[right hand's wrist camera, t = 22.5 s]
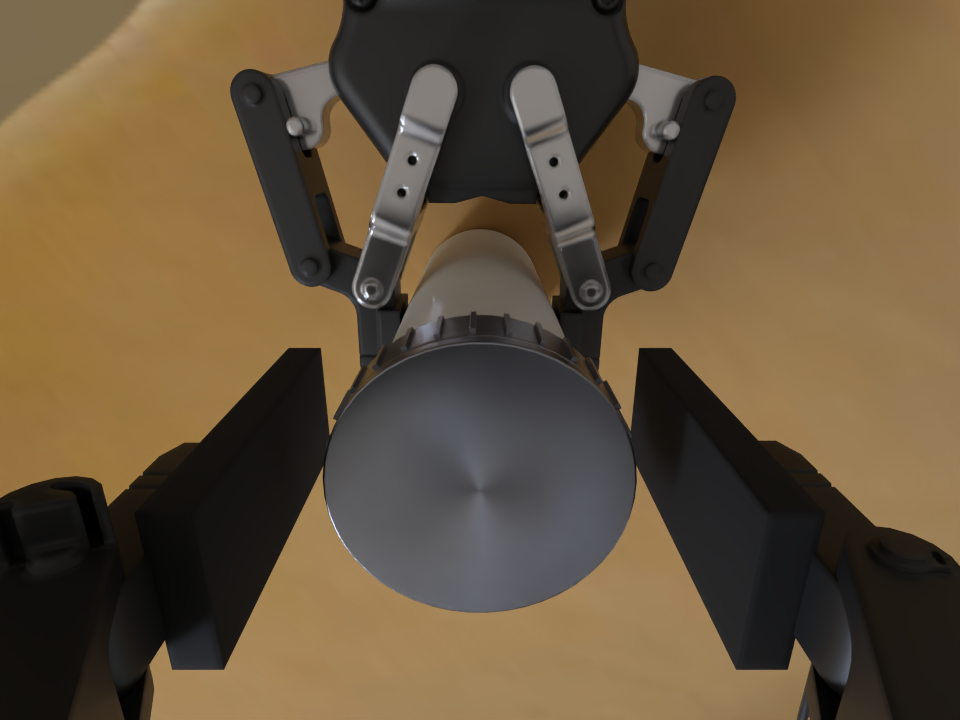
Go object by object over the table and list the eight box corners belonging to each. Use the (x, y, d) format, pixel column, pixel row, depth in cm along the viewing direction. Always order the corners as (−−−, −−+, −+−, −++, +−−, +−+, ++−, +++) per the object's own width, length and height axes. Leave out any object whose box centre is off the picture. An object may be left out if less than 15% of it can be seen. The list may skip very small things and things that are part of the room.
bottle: (530, 221, 24) (599, 325, 10) (542, 333, 26) (614, 553, 12) (413, 237, 25) (326, 360, 11) (433, 347, 26) (379, 578, 12)
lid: (668, 365, 11) (698, 400, 10) (557, 588, 13) (567, 648, 12) (384, 268, 11) (368, 289, 9) (309, 518, 13) (286, 570, 11)
